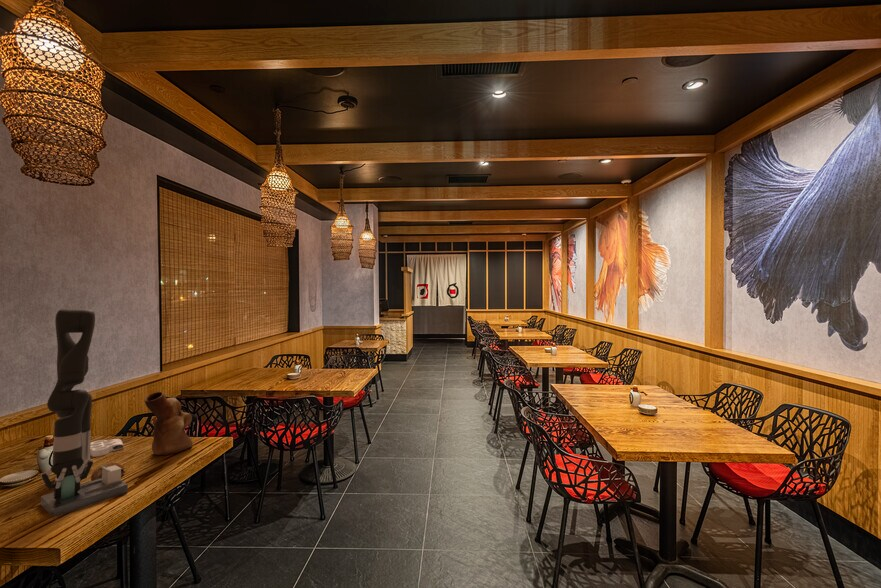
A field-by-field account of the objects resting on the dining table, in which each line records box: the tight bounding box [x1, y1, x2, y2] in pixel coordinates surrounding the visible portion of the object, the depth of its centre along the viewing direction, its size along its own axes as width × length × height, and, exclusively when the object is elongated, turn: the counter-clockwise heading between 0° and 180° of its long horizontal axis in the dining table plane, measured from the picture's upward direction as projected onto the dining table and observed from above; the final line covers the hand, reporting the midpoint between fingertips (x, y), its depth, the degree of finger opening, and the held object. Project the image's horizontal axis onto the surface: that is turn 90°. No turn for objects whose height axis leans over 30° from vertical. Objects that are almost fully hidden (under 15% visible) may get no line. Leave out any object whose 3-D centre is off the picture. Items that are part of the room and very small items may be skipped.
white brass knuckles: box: [90, 438, 125, 458], centre depth 187 cm, size 3×18×15 cm
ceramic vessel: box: [143, 391, 194, 456], centre depth 183 cm, size 16×22×30 cm
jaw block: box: [102, 465, 122, 485], centre depth 145 cm, size 6×4×6 cm, turn 57°
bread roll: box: [90, 461, 126, 481], centre depth 156 cm, size 10×10×8 cm
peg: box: [59, 474, 75, 501], centre depth 135 cm, size 4×4×8 cm
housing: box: [40, 478, 129, 519], centre depth 139 cm, size 16×20×4 cm
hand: (66, 495), depth 135 cm, fingers closed on peg, 3 cm apart
